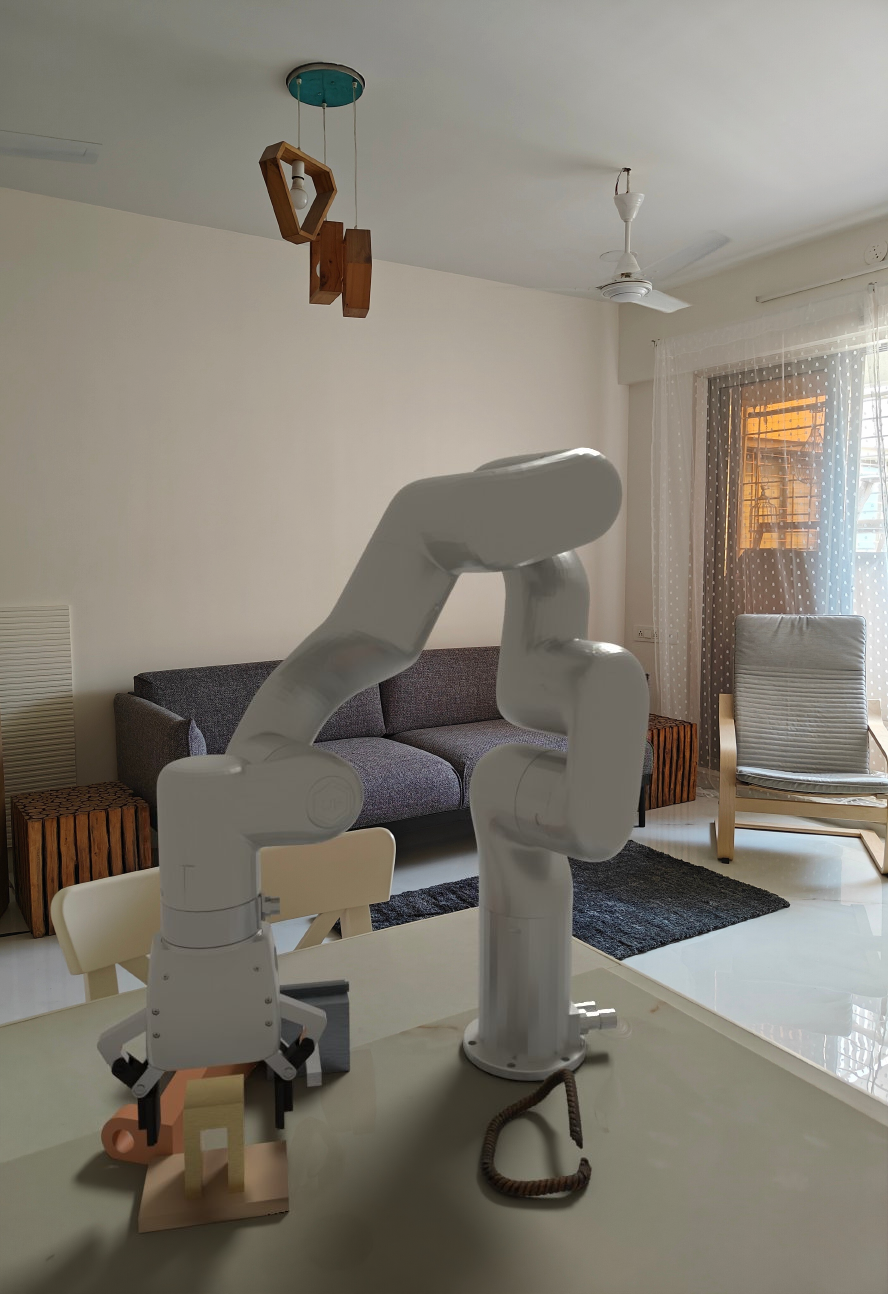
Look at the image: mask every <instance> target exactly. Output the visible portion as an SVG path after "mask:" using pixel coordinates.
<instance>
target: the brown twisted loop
mask: <svg viewBox="0 0 888 1294" xmlns="http://www.w3.org/2000/svg"><path fill="white" fill-rule="evenodd" d="M563 1083H564V1088H565V1094H566V1103H567V1114H568V1115H567V1116H568V1125H569V1127H568V1129H569V1137H570V1138H571V1140H572V1141H574V1142H575V1146H577V1147H578V1148H579V1149H581V1150H583V1148H584V1139H583V1137H584V1136H583V1130H582V1123H581V1122H582V1118H581V1111H580V1106H579V1104H580V1103H579V1102H580V1101H579V1096H578V1087H577V1083H576V1078H575V1075H574V1072H573V1071H571V1070H570V1069H568V1068H563V1069H559V1070H558V1071H556V1072H554V1073H553V1074H551V1075H549V1077H548V1078H546V1079H545V1080H544V1081H543V1082H542V1083H541V1085H539V1086H538V1088H537V1089H535V1091H534V1092H532V1093H531V1094H528V1095H527V1096H526V1097H522V1099H519V1100H517V1101H516V1102H513V1103H512V1105H507V1107H506V1108H504V1109H503V1110H502V1111H500V1112H498V1114H495V1116H494V1117H493V1118H492V1120H491V1122H490V1123H489V1125H488V1126H487V1129H486V1132H485V1137H484V1140H483V1145H482V1151H481V1153H482V1154H481V1159H480V1161H481V1162H480V1164H481V1167H480V1168H481V1172H482V1174H483V1176H484V1177H485V1180H486V1181H487V1182H489V1185H490V1186H492V1187H494V1189H495V1190H497V1191H499V1192H500V1193H503V1194H507V1195H508V1196H515V1197H522V1198H524V1197H525V1198H526V1197H539V1196H547V1195H548V1194H549V1195H554V1194H558V1193H561V1192H562V1193H564V1192H566V1191H567V1192H571V1191H577V1190H579V1189H580V1188H582V1187H584V1186H586V1184H587V1183H588V1182H589V1181H590V1180H591V1175H592V1169H593V1167H592V1166H591V1165H590V1163H589V1161H590V1160H589V1159H588V1158H587V1157H581V1158H580V1160H579V1161H580V1163H579V1165H578V1170H577V1171H576V1172H575V1173H573V1174H568V1175H561V1176H555V1177H550V1178H544V1179H538V1180H535V1179H533V1180H516V1179H512V1178H509V1177H505V1176H504V1175H502V1174H501V1172H499V1171H498V1170H497V1168H496V1166H495V1161H494V1160H495V1154H496V1147H497V1142H498V1137H499V1134H500V1132H501V1131H502V1129H503V1128H504V1126H505V1125H506V1124H507V1123H508V1122H510V1120H513V1119H514V1118H515V1117H517V1116H518V1115H521V1114H523V1112H526V1111H528V1110H529V1109H531V1108H534V1107H536V1106H537V1105H538V1104H539V1103H542V1102H543V1101H544V1100H545V1099H546V1098H547V1096H549V1095H550V1093H551V1092H552V1091H553V1090H554V1089H555V1088H556V1087H557V1086H559V1085H561V1084H563Z"/></svg>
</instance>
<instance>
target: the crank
mask: <svg viewBox="0 0 888 1294" xmlns="http://www.w3.org/2000/svg"><path fill="white" fill-rule="evenodd" d="M260 1062H261V1061H256V1062H249V1063H241V1064H233V1065H224V1066H215V1067H207V1068H197V1069H188V1070H177V1071H175V1073H174V1075H173V1076H172V1078H171V1080H170V1082H169V1083H168V1084H167V1086H166V1087H165V1089H163V1090H164V1091H163V1092H162V1093H161V1094H160V1104H161V1125H160V1131H159V1136H158V1142H157V1144H155V1146H149V1147H147V1130H139V1129H138V1104H135V1103H134V1104H133V1103H132V1104H131V1103H130V1104H126V1105H123V1106H122V1107H120V1108H119V1109H118V1111H116V1112H115V1113H114V1114H113V1115H112V1116H111V1117H110V1119H108V1120H107V1122H106V1123H104V1124H103V1127H102V1129H101V1133H100V1140H101V1143H102V1146H103V1148H104V1151H105V1152H106V1153H107V1154H108V1155H109V1156H110V1157H111V1158H112V1159H114V1160H118V1161H119V1160H120V1161H124V1162H130V1163H135V1164H136V1163H137V1164H142V1165H148V1164H149V1158H150V1157H157V1156H165V1155H173V1154H181V1153H184V1124H183V1107H184V1100H185V1093H186V1086H187V1080H195V1079H204V1078H213V1077H222V1076H231V1075H240V1074H244V1081H246V1079H247V1078H248V1077H249V1076H250V1074H251V1073H252V1072H253V1071H254V1069H256V1067H257V1066H258V1064H259V1063H260Z"/></svg>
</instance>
